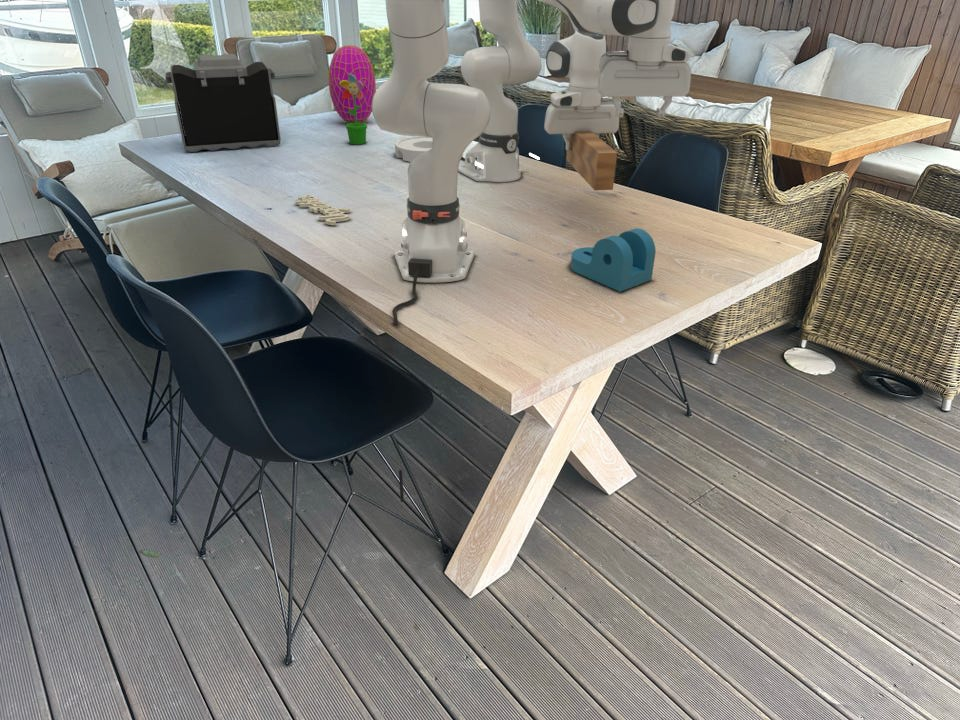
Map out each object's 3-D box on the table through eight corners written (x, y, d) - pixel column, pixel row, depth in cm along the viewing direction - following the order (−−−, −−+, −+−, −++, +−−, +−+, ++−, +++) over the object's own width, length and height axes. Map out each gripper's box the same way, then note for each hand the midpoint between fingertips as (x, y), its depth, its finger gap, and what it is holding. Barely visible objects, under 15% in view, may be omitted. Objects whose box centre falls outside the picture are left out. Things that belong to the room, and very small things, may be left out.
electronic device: (278, 133, 274) (267, 51, 259) (285, 146, 256) (274, 59, 241) (180, 140, 262) (162, 54, 247) (180, 153, 244) (161, 62, 229)
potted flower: (342, 144, 260) (336, 73, 247) (351, 139, 266) (346, 70, 254) (365, 146, 257) (360, 74, 245) (374, 141, 264) (369, 71, 251)
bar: (612, 189, 172) (617, 152, 167) (594, 190, 171) (598, 153, 166) (582, 160, 195) (585, 126, 190) (566, 160, 194) (569, 126, 189)
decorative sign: (363, 215, 186) (329, 222, 181) (363, 219, 186) (330, 226, 181) (319, 192, 204) (287, 198, 198) (319, 195, 204) (288, 201, 199)
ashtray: (453, 164, 236) (453, 152, 234) (387, 161, 239) (387, 149, 237) (465, 148, 256) (465, 137, 254) (404, 145, 259) (404, 134, 257)
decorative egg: (362, 116, 305) (357, 42, 290) (386, 123, 292) (382, 46, 277) (324, 121, 294) (316, 45, 279) (347, 129, 281) (340, 49, 266)
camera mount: (651, 279, 153) (658, 234, 148) (620, 291, 148) (626, 245, 142) (592, 255, 165) (596, 213, 160) (561, 266, 160) (564, 222, 154)
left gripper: (603, 52, 146) (597, 119, 153) (697, 53, 147) (687, 119, 154) (597, 49, 152) (591, 114, 159) (688, 49, 153) (678, 114, 160)
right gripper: (618, 94, 186) (611, 146, 193) (544, 94, 183) (541, 147, 190) (626, 99, 181) (619, 152, 188) (550, 99, 178) (546, 153, 185)
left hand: (639, 117), depth 157 cm, fingers open, 8 cm apart
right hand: (579, 149), depth 189 cm, fingers closed on bar, 5 cm apart
